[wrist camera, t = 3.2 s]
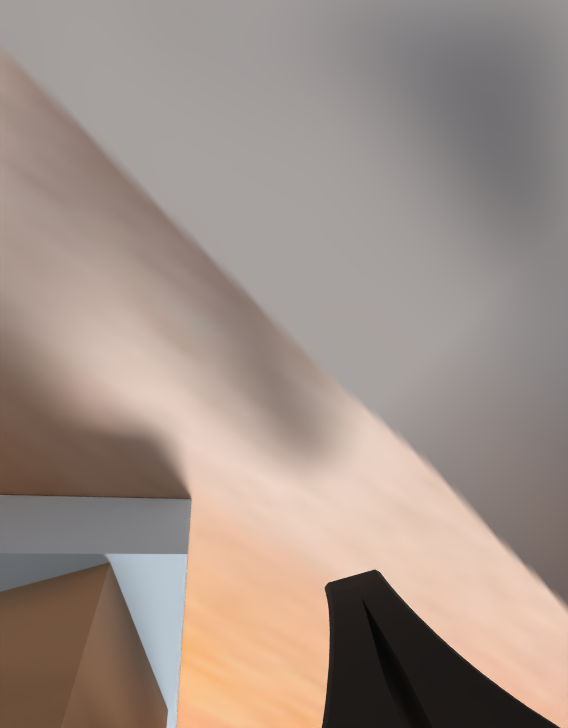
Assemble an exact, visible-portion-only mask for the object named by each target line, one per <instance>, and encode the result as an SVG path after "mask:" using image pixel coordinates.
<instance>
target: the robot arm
mask: <svg viewBox="0 0 568 728" xmlns="http://www.w3.org/2000/svg"><path fill="white" fill-rule="evenodd" d="M325 592H326V596H327V600H328V607H329V622H330V649H329V670H328V682H327V693H326V702H325V710H324V717H323V724H322V728H560V727H558V726H557V725H555V724H554V723H552V722H551V721H549V720H547V719H546V718H544V717H543V716H541V715H540V714H538V713H536V712H535V711H533V710H532V709H530V708H529V707H527V706H526V705H524V704H523V703H521V702H520V701H519V700H517V699H516V698H514V697H513V696H512V695H510V694H509V693H507V692H506V691H505V690H503V689H502V688H501V687H499V686H498V685H497V684H495V683H494V682H493V681H491V680H490V679H489V678H487V677H486V676H485V675H484V674H482V673H481V672H480V671H479V670H477V669H476V668H475V667H474V666H472V665H471V664H470V663H469V662H468V661H466V660H465V659H464V658H463V657H462V656H461V655H459V654H458V653H457V652H456V651H455V650H454V649H453V648H451V647H450V646H449V645H448V644H447V643H446V642H445V641H444V640H443V639H441V638H440V637H439V636H438V635H437V634H436V633H435V632H434V631H433V630H432V629H431V628H430V627H429V626H428V625H427V624H426V623H425V622H424V621H423V620H422V619H421V618H420V617H419V616H418V615H417V614H416V613H415V612H414V611H413V610H412V609H411V608H410V607H409V606H408V605H407V604H406V603H405V602H404V600H403V599H402V598H401V597H400V596H399V595H398V594H397V593H396V592H395V590H394V589H393V588H392V587H391V586H390V584H389V583H388V582H387V581H386V579H385V578H384V577H383V576H382V574H381V573H380V572H379V571H377V570H372V571H368V572H365V573H361V574H358V575H354V576H350V577H347V578H343V579H340V580H336V581H333V582H329V583H328V584H327V585H326V586H325Z"/></svg>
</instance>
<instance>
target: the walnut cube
mask: <svg viewBox="0 0 568 728" xmlns="http://www.w3.org/2000/svg"><path fill="white" fill-rule="evenodd" d="M167 717H168V708H167V706H166V703H165V701H164V698H163V696H162V693H161V691H160V688H159V685H158V683H157V680H156V678H155V675H154V673H153V670H152V668H151V665H150V662H149V660H148V657H147V655H146V652H145V650H144V647H143V645H142V642H141V639H140V637H139V634H138V632H137V629H136V627H135V624H134V622H133V619H132V616H131V614H130V611H129V609H128V606H127V604H126V601H125V599H124V596H123V593H122V591H121V588H120V586H119V583H118V581H117V578H116V576H115V573H114V570H113V568H112V565H111V563H110V562H109V563H105V564H101V565H98V566H94V567H90V568H86V569H83V570H79V571H75V572H72V573H68V574H64V575H60V576H57V577H53V578H49V579H46V580H42V581H38V582H34V583H31V584H27V585H23V586H20V587H16V588H12V589H9V590H5V591H1V592H0V728H167Z"/></svg>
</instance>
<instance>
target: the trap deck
mask: <svg viewBox="0 0 568 728" xmlns="http://www.w3.org/2000/svg"><path fill="white" fill-rule="evenodd" d="M191 501H192V499H160V498H116V497H72V496H28V495H0V592H1V591H5V590H9V589H12V588H16V587H20V586H23V585H27V584H31V583H34V582H38V581H42V580H46V579H49V578H53V577H57V576H60V575H64V574H68V573H72V572H75V571H79V570H83V569H86V568H90V567H94V566H98V565H101V564H105V563H109V562H110V563H111V565H112V568H113V570H114V573H115V576H116V578H117V581H118V583H119V586H120V588H121V591H122V593H123V596H124V599H125V601H126V604H127V606H128V609H129V611H130V614H131V616H132V619H133V622H134V624H135V627H136V629H137V632H138V634H139V637H140V639H141V642H142V645H143V647H144V650H145V652H146V655H147V657H148V660H149V662H150V665H151V668H152V670H153V673H154V675H155V678H156V680H157V683H158V685H159V688H160V691H161V693H162V696H163V698H164V701H165V703H166V706H167V708H168V717H167V728H176V723H177V709H178V694H179V679H180V664H181V649H182V634H183V619H184V605H185V590H186V575H187V560H188V545H189V530H190V515H191Z"/></svg>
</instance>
